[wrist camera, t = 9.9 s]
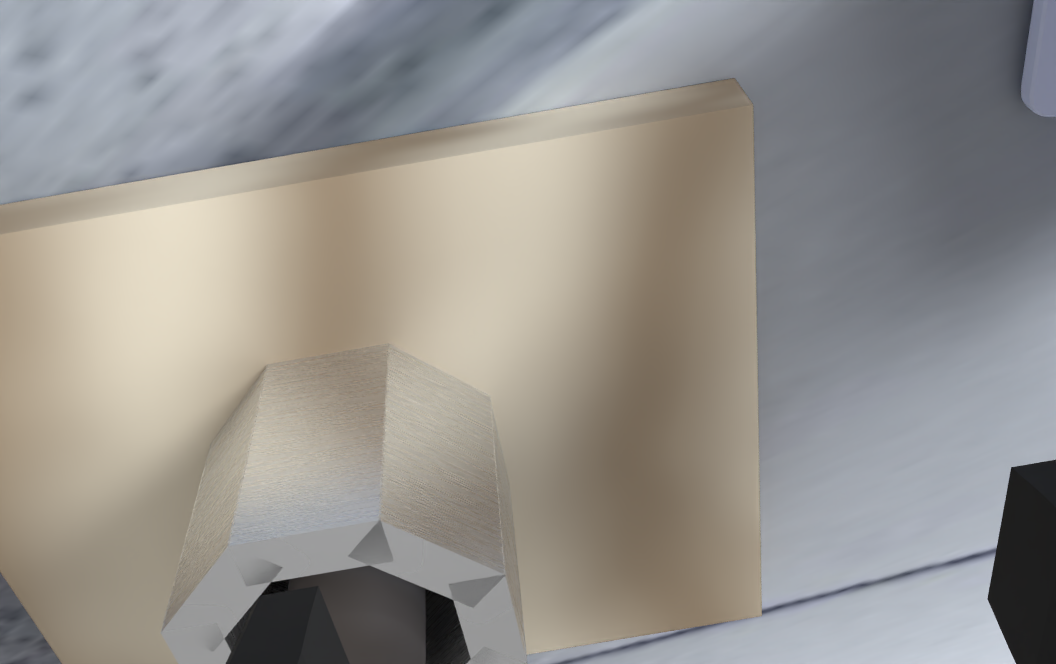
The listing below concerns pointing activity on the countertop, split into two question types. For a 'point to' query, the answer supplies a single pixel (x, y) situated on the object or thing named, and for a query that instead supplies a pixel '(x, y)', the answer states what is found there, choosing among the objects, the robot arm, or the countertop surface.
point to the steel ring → (354, 504)
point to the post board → (420, 330)
